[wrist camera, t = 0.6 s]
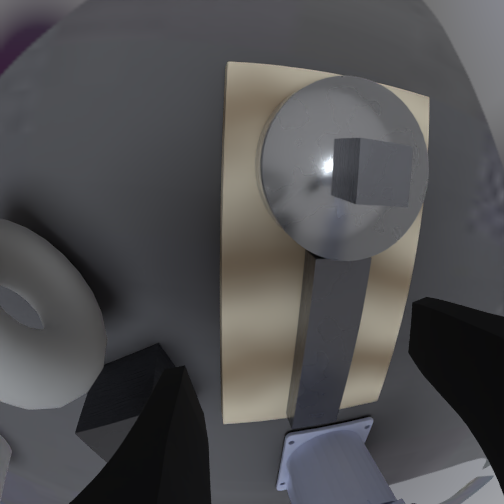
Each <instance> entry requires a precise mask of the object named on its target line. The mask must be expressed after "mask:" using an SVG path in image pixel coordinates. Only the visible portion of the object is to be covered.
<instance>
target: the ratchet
mask: <svg viewBox="0 0 504 504" xmlns="http://www.w3.org/2000/svg"><path fill="white" fill-rule="evenodd" d="M255 176H256V182H257V187H258V190H259V194H260V197H261V199H262V201H263V203H264V206H265V208H266V209H267V211H268V213H269V214H270V216H271V217H272V219H273V220H274V221H275V222H276V223H277V225H278V226H279V227H280V228H281V229H283V230H284V231H285V232H286V233H287V234H288V235H289V236H290V237H291V238H292V239H293V240H294V241H296V242H297V243H298V244H299V245H301V246H302V247H303V248H305V249H306V250H305V259H304V270H303V280H302V290H301V300H300V309H299V318H298V327H297V335H296V344H295V352H294V360H293V367H292V375H291V382H290V389H289V396H288V403H287V410H286V415H287V418H288V420H289V423H290V426H291V428H292V429H296V428H302V427H308V426H314V425H320V424H325V423H330V422H335V421H336V419H337V415H338V412H339V408H340V405H341V401H342V397H343V394H344V390H345V386H346V382H347V378H348V375H349V371H350V366H351V362H352V358H353V354H354V350H355V345H356V341H357V336H358V331H359V327H360V322H361V317H362V312H363V306H364V301H365V296H366V290H367V284H368V278H369V272H370V266H371V259H372V258H371V257H372V256H374V255H377V254H379V253H381V252H383V251H385V250H386V249H388V248H389V247H391V246H392V245H393V244H395V243H396V242H397V241H398V240H399V239H400V238H401V237H402V236H403V235H404V234H405V233H406V232H407V231H408V229H409V228H410V227H411V225H412V224H413V222H414V221H415V219H416V217H417V215H418V214H419V212H420V210H421V207H422V204H423V202H424V199H425V195H426V191H427V186H428V179H429V160H428V152H427V147H426V143H425V139H424V136H423V133H422V131H421V129H420V126H419V124H418V122H417V120H416V119H415V117H414V115H413V114H412V112H411V111H410V110H409V108H408V107H407V106H406V105H405V103H404V102H403V101H402V100H401V99H400V98H399V97H398V96H396V95H395V94H394V93H393V92H392V91H390V90H389V89H387V88H385V87H384V86H382V85H380V84H378V83H376V82H374V81H372V80H368V79H365V78H362V77H355V76H334V77H328V78H324V79H321V80H318V81H316V82H314V83H312V84H310V85H308V86H306V87H304V88H302V89H300V90H298V91H296V92H294V93H293V94H291V95H290V96H288V97H287V98H286V99H284V100H283V101H282V102H281V103H280V104H279V105H278V106H277V107H276V108H275V109H274V111H273V112H272V113H271V115H270V116H269V117H268V119H267V121H266V123H265V125H264V126H263V129H262V131H261V134H260V136H259V139H258V143H257V148H256V155H255Z"/></svg>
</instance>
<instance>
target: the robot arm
mask: <svg viewBox="0 0 504 504" xmlns="http://www.w3.org/2000/svg"><path fill="white" fill-rule="evenodd" d="M408 353H409V354H410V356H411V358H412V359H413V361H414V362H415V364H416V365H417V367H418V368H419V370H420V371H421V373H422V374H423V375H424V376H425V378H426V379H427V380H428V381H429V382H430V383H431V384H432V386H433V387H434V388H435V389H436V390H437V391H438V392H439V393H440V394H441V396H442V397H443V398H444V399H445V400H446V401H447V402H448V403H449V404H450V406H451V407H452V408H453V409H454V410H455V411H456V412H457V413H458V415H459V416H460V417H461V418H462V419H463V421H464V422H465V423H466V425H467V426H468V428H469V429H470V431H471V432H472V434H473V435H474V437H475V438H476V440H477V441H478V443H479V445H480V446H481V448H482V450H483V452H484V453H485V455H486V457H487V459H488V460H489V462H490V464H491V466H492V468H493V470H494V473H495V475H496V477H497V479H498V481H499V484H500V486H501V489H502V492H503V494H504V317H503V316H498V315H494V314H490V313H487V312H483V311H479V310H476V309H472V308H469V307H465V306H462V305H458V304H455V303H451V302H447V301H443V300H439V299H435V298H429V297H426V298H423V299H420V300H418V301H415V302H413V303H412V318H411V331H410V341H409V351H408ZM373 421H374V420H373V419H372V417H367V418H363V419H358V420H354V421H350V422H345V423H341V424H336V425H331V426H326V427H321V428H315V429H309V430H303V431H297V432H291V433H288V434H287V435H286V436H285V441H284V447H283V452H282V458H281V463H280V469H279V474H278V479H277V484H276V488H277V490H279V491H281V490H287V491H288V495H289V498H290V501H291V504H405V502H404V501H403V499H399V500H397V499H396V498H395V496H394V494H393V492H392V491H391V489H390V487H389V485H388V484H387V482H386V480H385V478H384V477H383V475H382V473H381V472H380V470H379V468H378V466H377V465H376V463H375V461H374V459H373V458H372V456H371V454H370V453H369V451H368V449H367V447H366V446H365V444H364V443H365V441H366V439H367V436H368V434H369V431H370V429H371V427H372V424H373ZM69 504H211V491H210V469H209V446H208V437H207V431H206V424H205V418H204V413H203V411H202V408H201V406H200V403H199V401H198V398H197V396H196V393H195V391H194V388H193V386H192V383H191V381H190V378H189V375H188V373H187V370H186V367H185V366H180V367H175V368H169V369H164V371H163V372H162V374H161V376H160V378H159V380H158V382H157V384H156V385H155V387H154V389H153V391H152V393H151V395H150V397H149V399H148V400H147V402H146V404H145V406H144V408H143V409H142V411H141V413H140V415H139V416H138V418H137V420H136V422H135V423H134V425H133V426H132V428H131V430H130V431H129V433H128V434H127V436H126V437H125V439H124V440H123V442H122V443H121V445H120V446H119V448H118V449H117V451H116V452H115V453H114V455H113V456H112V457H111V459H110V460H109V461H108V463H107V464H106V465H105V466H104V468H103V469H102V470H101V471H100V473H99V474H98V475H97V476H96V477H95V478H94V479H93V480H92V481H91V482H90V483H89V484H88V485H87V486H86V487H85V489H84V490H83V491H82V492H81V493H80V494H79V495H78V496H77V497H76V498H75V499H74V500H73V501H71V502H70V503H69ZM412 504H415V503H412Z"/></svg>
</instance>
